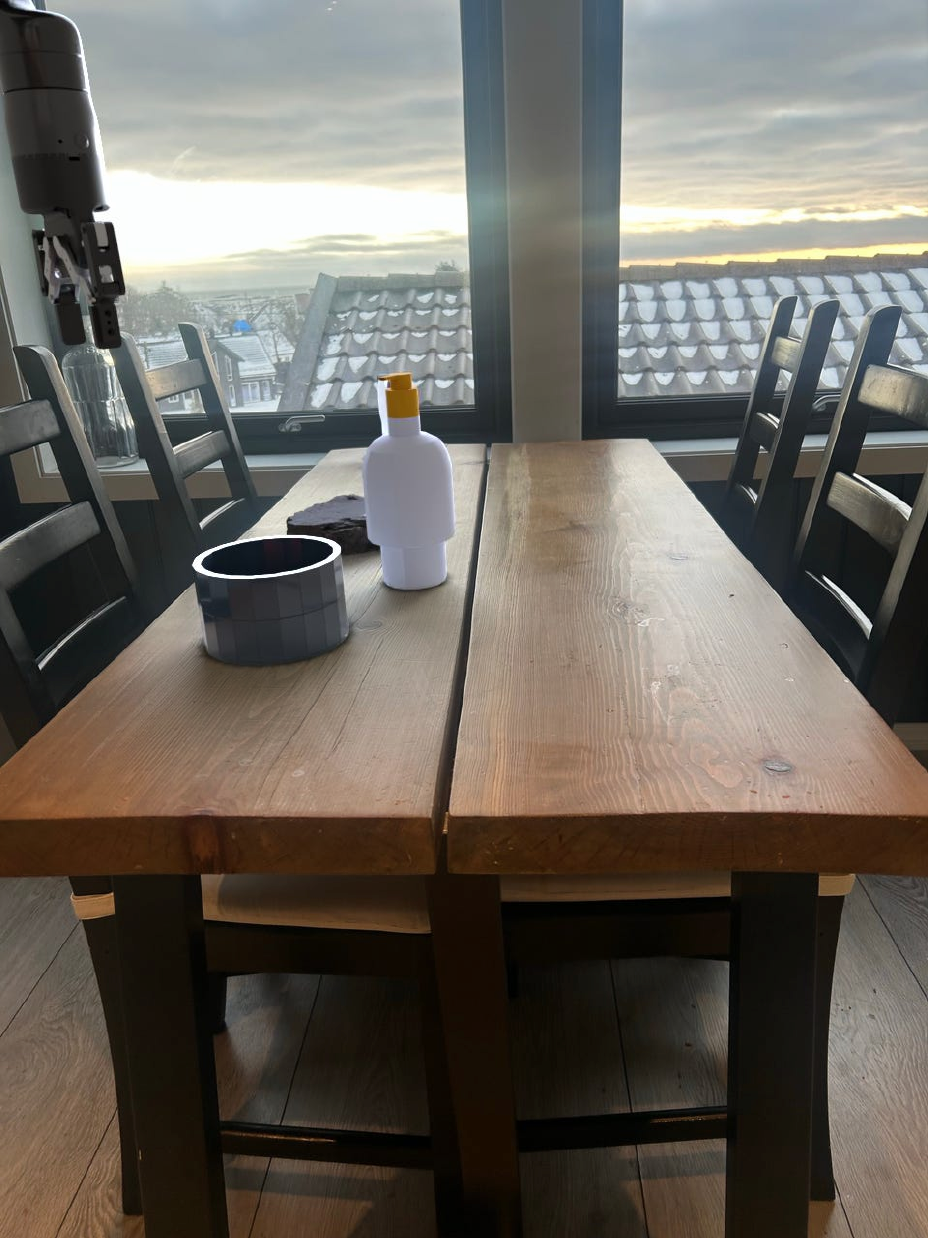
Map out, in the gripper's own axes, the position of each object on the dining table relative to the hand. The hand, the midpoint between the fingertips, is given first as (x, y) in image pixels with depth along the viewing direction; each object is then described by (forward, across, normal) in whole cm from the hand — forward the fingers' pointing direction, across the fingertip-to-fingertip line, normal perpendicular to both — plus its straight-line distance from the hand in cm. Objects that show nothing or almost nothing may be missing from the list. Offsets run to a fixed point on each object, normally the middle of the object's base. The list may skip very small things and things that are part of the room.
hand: (91, 346), depth 92 cm
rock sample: (+30, -17, +37) cm, 51 cm away
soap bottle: (+30, +4, +32) cm, 44 cm away
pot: (+30, +8, +11) cm, 33 cm away
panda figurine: (+30, -59, +76) cm, 101 cm away
